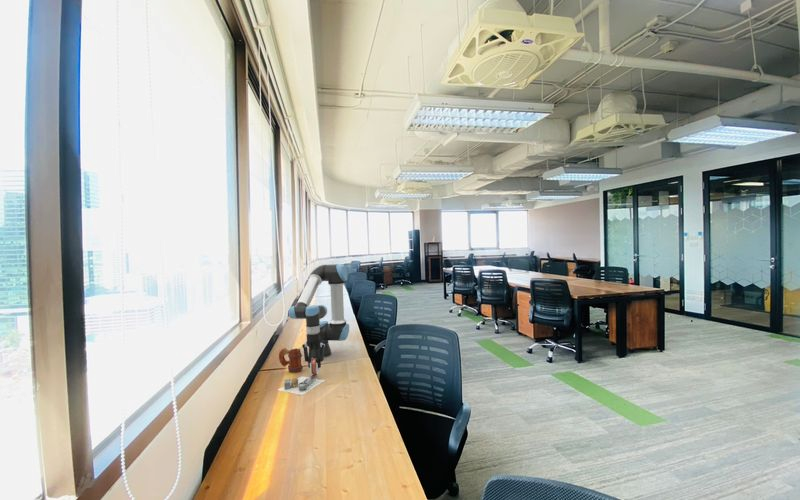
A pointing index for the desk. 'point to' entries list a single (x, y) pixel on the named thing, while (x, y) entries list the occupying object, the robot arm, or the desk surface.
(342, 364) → the desk surface
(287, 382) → the grey rectangular block
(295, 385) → the tan short cylinder
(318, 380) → the bench board
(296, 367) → the mug
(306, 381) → the lever
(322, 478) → the desk surface
